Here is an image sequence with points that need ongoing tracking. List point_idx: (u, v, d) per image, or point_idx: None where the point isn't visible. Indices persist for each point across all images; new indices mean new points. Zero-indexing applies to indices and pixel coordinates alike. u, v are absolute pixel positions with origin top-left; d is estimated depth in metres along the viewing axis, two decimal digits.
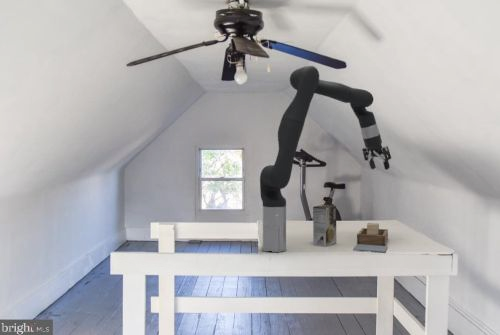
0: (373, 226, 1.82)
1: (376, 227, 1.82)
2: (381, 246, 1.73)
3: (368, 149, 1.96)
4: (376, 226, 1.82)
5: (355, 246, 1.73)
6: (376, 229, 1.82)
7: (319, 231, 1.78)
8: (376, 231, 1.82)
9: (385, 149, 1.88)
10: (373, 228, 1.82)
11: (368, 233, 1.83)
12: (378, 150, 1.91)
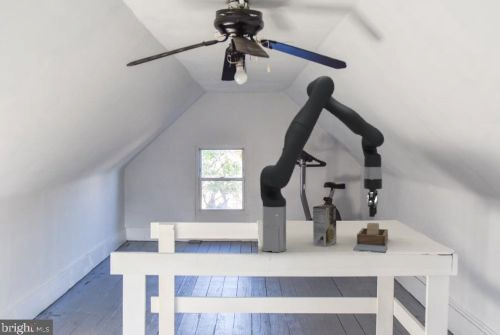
0: (373, 226, 1.82)
1: (376, 227, 1.82)
2: (381, 246, 1.73)
3: None
4: (376, 226, 1.82)
5: (355, 246, 1.73)
6: (376, 229, 1.82)
7: (319, 231, 1.78)
8: (376, 231, 1.82)
9: (370, 194, 1.78)
10: (373, 228, 1.82)
11: (368, 233, 1.83)
12: None
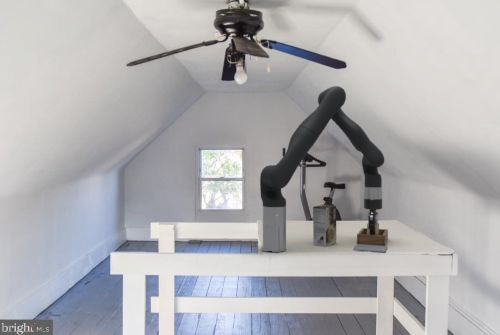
0: None
1: (376, 227, 1.82)
2: (381, 246, 1.73)
3: None
4: (376, 226, 1.82)
5: (355, 246, 1.73)
6: (376, 229, 1.82)
7: (319, 231, 1.78)
8: (376, 231, 1.82)
9: (370, 218, 1.79)
10: None
11: (368, 233, 1.83)
12: None
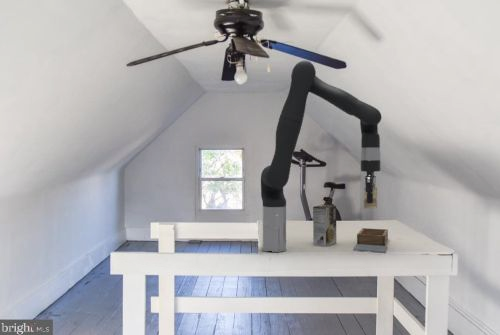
0: None
1: (374, 190, 1.68)
2: (381, 246, 1.73)
3: None
4: (374, 189, 1.67)
5: (355, 246, 1.73)
6: (374, 193, 1.68)
7: (319, 231, 1.78)
8: (374, 195, 1.67)
9: (367, 180, 1.64)
10: None
11: (365, 197, 1.69)
12: None
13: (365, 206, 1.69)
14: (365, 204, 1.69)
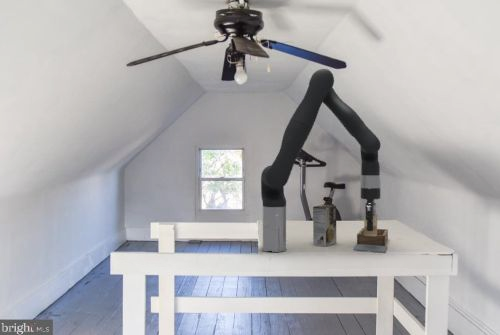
0: None
1: (374, 218, 1.68)
2: (381, 246, 1.73)
3: None
4: (374, 217, 1.68)
5: (355, 246, 1.73)
6: (374, 220, 1.68)
7: (319, 231, 1.78)
8: (375, 222, 1.68)
9: (367, 208, 1.64)
10: None
11: (365, 225, 1.69)
12: None
13: (365, 234, 1.69)
14: (365, 232, 1.69)
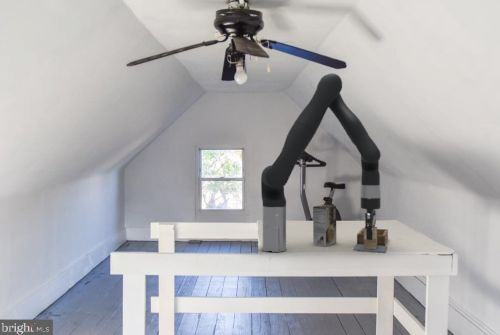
0: None
1: (374, 231, 1.68)
2: (381, 246, 1.73)
3: None
4: (374, 230, 1.68)
5: (355, 246, 1.73)
6: (374, 233, 1.68)
7: (319, 231, 1.78)
8: (374, 235, 1.68)
9: (367, 216, 1.64)
10: None
11: (365, 237, 1.69)
12: None
13: (365, 246, 1.69)
14: (365, 244, 1.69)
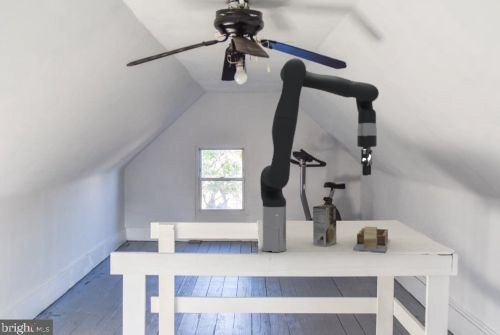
0: (371, 230, 1.68)
1: (374, 231, 1.68)
2: (381, 246, 1.73)
3: None
4: (374, 230, 1.68)
5: (355, 246, 1.73)
6: (374, 233, 1.68)
7: (319, 231, 1.78)
8: (374, 235, 1.68)
9: (363, 151, 1.68)
10: (371, 232, 1.68)
11: (365, 237, 1.69)
12: None
13: (365, 246, 1.69)
14: (365, 244, 1.69)
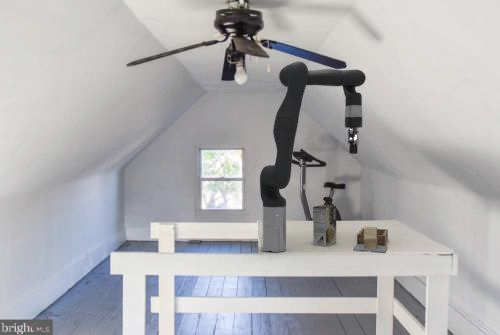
0: (371, 230, 1.68)
1: (374, 231, 1.68)
2: (381, 246, 1.73)
3: None
4: (374, 230, 1.68)
5: (355, 246, 1.73)
6: (374, 233, 1.68)
7: (319, 231, 1.78)
8: (374, 235, 1.68)
9: (349, 131, 1.83)
10: (371, 232, 1.68)
11: (365, 237, 1.69)
12: None
13: (365, 246, 1.69)
14: (365, 244, 1.69)
